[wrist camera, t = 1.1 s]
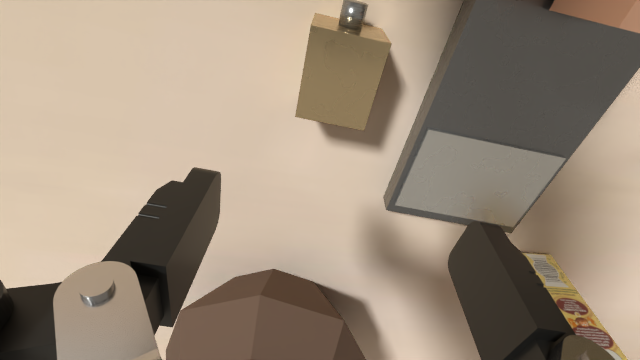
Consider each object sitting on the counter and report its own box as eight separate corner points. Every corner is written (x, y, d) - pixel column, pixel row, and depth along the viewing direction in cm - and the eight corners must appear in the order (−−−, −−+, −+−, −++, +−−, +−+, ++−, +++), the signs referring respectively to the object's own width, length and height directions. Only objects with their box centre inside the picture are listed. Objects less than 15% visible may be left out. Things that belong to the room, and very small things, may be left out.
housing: (319, -11, 22) (315, -3, 18) (388, 5, 23) (400, 16, 19) (301, 91, 26) (295, 116, 22) (359, 104, 27) (364, 130, 23)
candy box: (515, 250, 36) (612, 407, 23) (552, 253, 36) (669, 411, 23) (486, 297, 41) (553, 446, 29) (519, 299, 41) (599, 450, 29)
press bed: (512, -118, 19) (532, -126, 17) (707, -62, 20) (746, -64, 18) (383, 197, 32) (386, 212, 30) (502, 219, 33) (512, 235, 32)
